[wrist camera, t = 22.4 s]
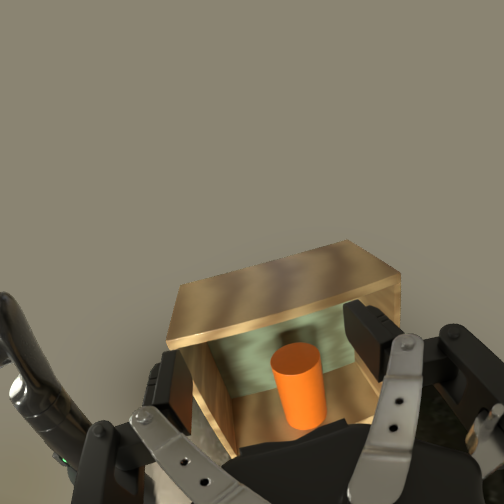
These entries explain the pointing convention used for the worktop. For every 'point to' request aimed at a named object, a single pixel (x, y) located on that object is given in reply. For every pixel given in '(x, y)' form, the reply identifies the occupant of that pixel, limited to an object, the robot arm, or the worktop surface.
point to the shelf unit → (279, 338)
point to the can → (300, 384)
